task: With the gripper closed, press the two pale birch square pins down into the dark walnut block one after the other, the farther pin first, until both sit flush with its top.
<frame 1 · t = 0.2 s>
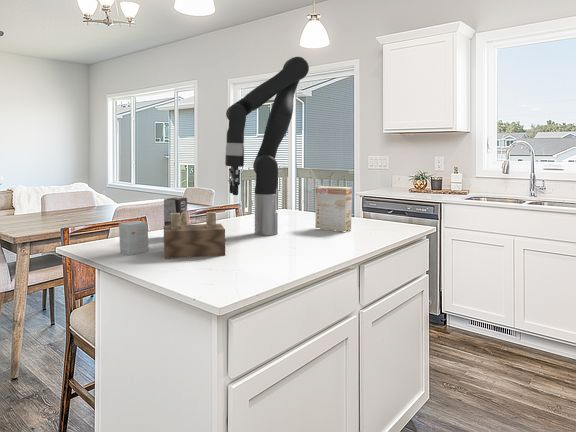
hand: (233, 194, 189), 17 cm above the countertop, tool pointing down, fingers open, 8 cm apart
pin 2: (211, 223, 159), point 10 cm above the countertop, slide at 0.0 cm
coffee box: (176, 238, 186), on the countertop
small box: (134, 252, 159), on the countertop
coffeecake box: (333, 230, 207), on the countertop
walnut block: (194, 252, 159), on the countertop
pin 1: (175, 225, 156), point 10 cm above the countertop, slide at 0.0 cm
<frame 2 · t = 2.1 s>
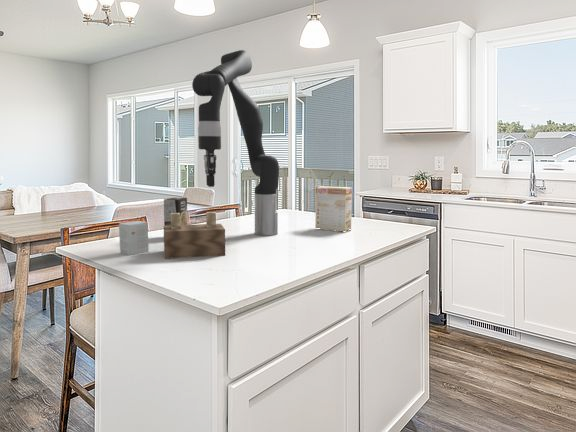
hand: (210, 185, 157), 23 cm above the countertop, tool pointing down, fingers open, 3 cm apart
nothing on the countertop moved.
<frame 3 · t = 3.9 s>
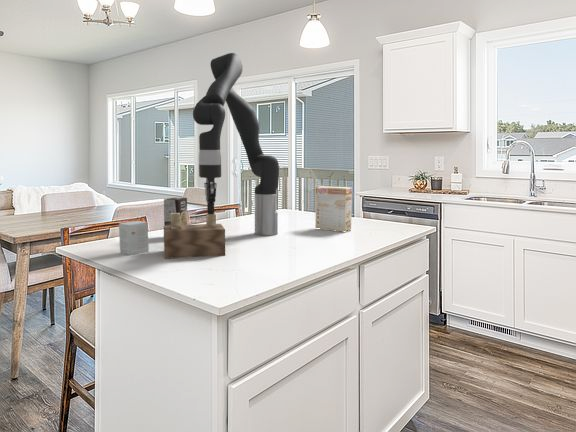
hand: (210, 213, 159), 14 cm above the countertop, tool pointing down, fingers closed
pin 2: (211, 225, 159), point 10 cm above the countertop, slide at 0.5 cm, touching gripper
everything else where it was.
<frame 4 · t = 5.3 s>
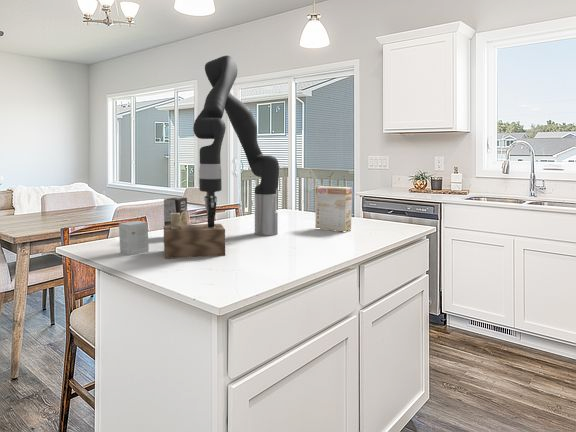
hand: (211, 227, 159), 9 cm above the countertop, tool pointing down, fingers closed
pin 2: (211, 238, 160), point 5 cm above the countertop, slide at 5.1 cm, touching gripper
everything else where it was.
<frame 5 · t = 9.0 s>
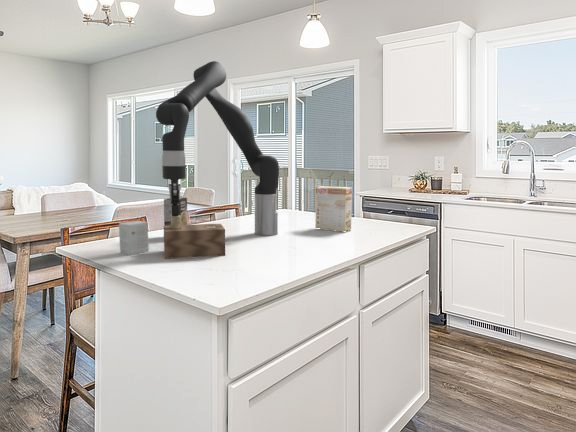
hand: (175, 215, 156), 13 cm above the countertop, tool pointing down, fingers closed
pin 2: (211, 238, 160), point 5 cm above the countertop, slide at 5.1 cm
pin 1: (175, 227, 156), point 9 cm above the countertop, slide at 0.8 cm, touching gripper
everything else where it was.
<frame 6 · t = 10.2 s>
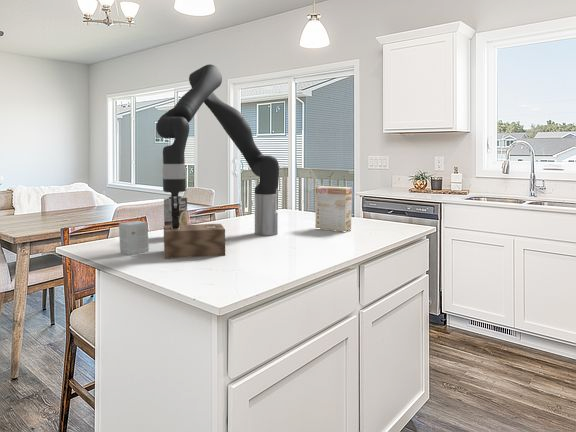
hand: (175, 228, 156), 9 cm above the countertop, tool pointing down, fingers closed
pin 1: (176, 239, 157), point 5 cm above the countertop, slide at 5.1 cm, touching gripper
everything else where it was.
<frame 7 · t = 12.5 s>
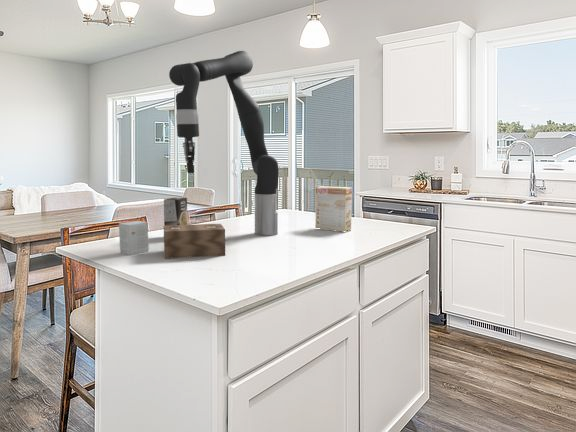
hand: (190, 172, 163), 27 cm above the countertop, tool pointing down, fingers closed
pin 1: (176, 239, 157), point 5 cm above the countertop, slide at 5.1 cm
everything else where it was.
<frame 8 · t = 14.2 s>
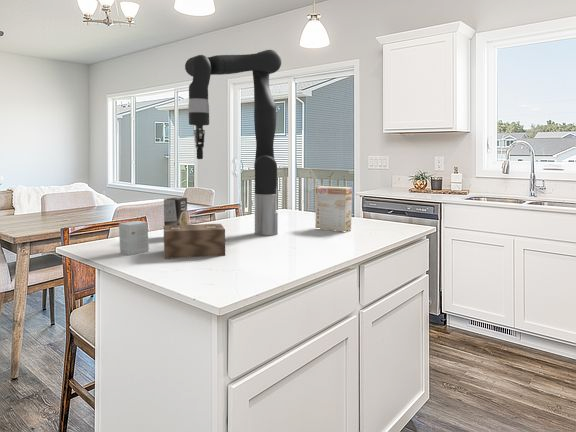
hand: (199, 159, 173), 32 cm above the countertop, tool pointing down, fingers closed
nothing on the countertop moved.
at the end: pin 2 slide at 5.1 cm; pin 1 slide at 5.1 cm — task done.
